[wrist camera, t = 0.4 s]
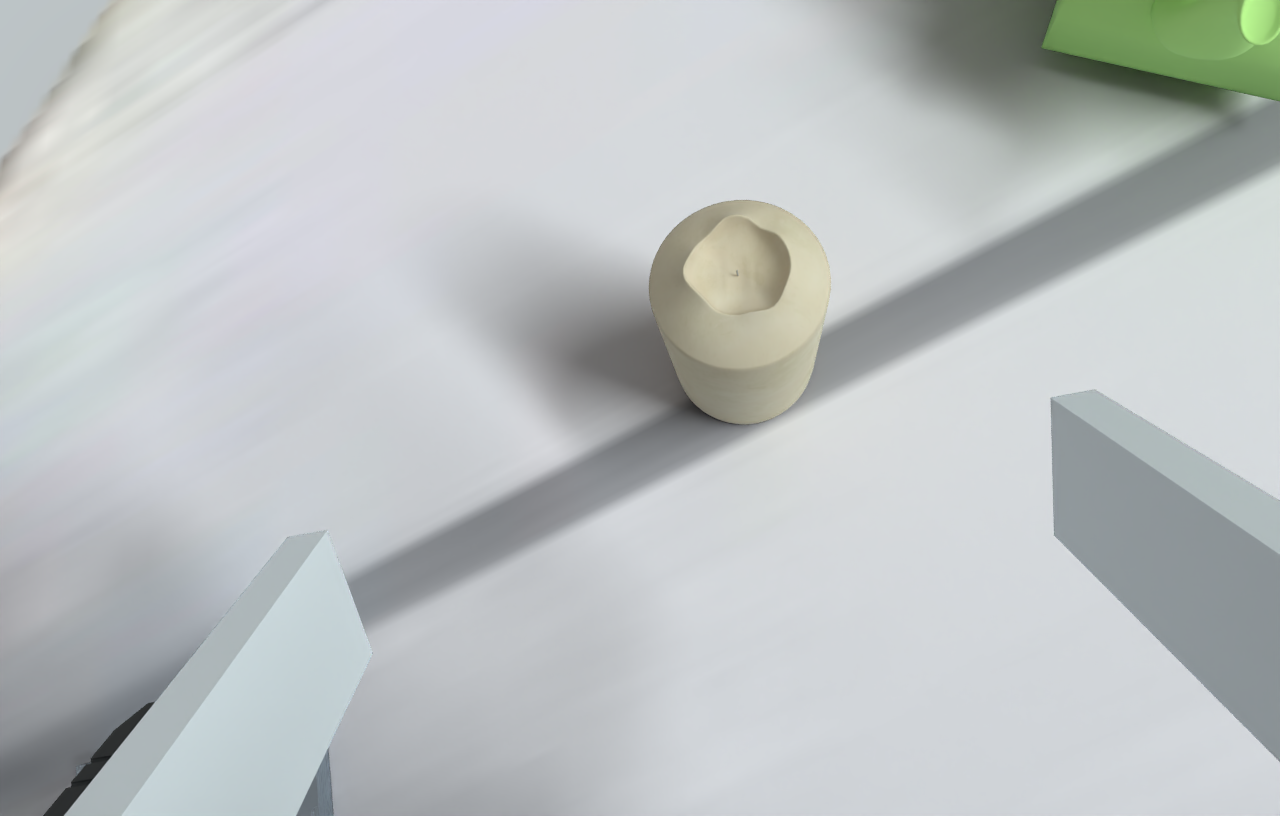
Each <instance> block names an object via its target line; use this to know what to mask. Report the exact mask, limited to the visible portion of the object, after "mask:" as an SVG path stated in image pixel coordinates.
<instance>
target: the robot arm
mask: <svg viewBox="0 0 1280 816" xmlns="http://www.w3.org/2000/svg"><path fill="white" fill-rule="evenodd" d="M1051 433H1052V474H1053V514H1054V536H1055V537H1056V538H1057V539H1058V540H1059V541H1060V542H1061V543H1062V544H1063V545H1064V546H1065V547H1066V548H1067V549H1068V550H1069V551H1070V552H1071V553H1072V554H1073V555H1074V556H1075V557H1076V558H1077V559H1078V560H1079V561H1080V562H1081V563H1082V564H1083V565H1084V566H1085V567H1086V568H1087V569H1088V570H1089V571H1090V572H1091V573H1092V574H1093V575H1094V576H1095V577H1096V578H1097V579H1098V580H1099V581H1100V582H1101V583H1102V584H1103V585H1104V586H1105V587H1106V588H1107V589H1108V590H1109V591H1110V592H1111V593H1112V594H1113V595H1114V596H1115V597H1116V598H1117V599H1118V600H1119V601H1120V602H1121V603H1122V604H1123V605H1124V606H1125V607H1126V608H1127V609H1128V610H1129V611H1130V612H1131V613H1132V614H1133V615H1134V616H1135V617H1136V618H1137V619H1138V620H1139V621H1140V622H1141V623H1142V624H1143V625H1144V626H1145V627H1146V628H1147V629H1148V630H1149V631H1150V632H1151V633H1152V634H1153V635H1154V636H1155V637H1156V638H1157V639H1158V640H1159V641H1160V642H1161V643H1162V644H1163V645H1164V646H1165V647H1166V648H1167V649H1168V650H1169V651H1170V652H1171V653H1172V654H1173V655H1174V656H1175V657H1176V658H1177V659H1178V660H1179V661H1180V662H1181V663H1182V664H1183V665H1184V666H1185V667H1186V668H1187V669H1188V670H1189V671H1190V672H1191V673H1192V674H1193V675H1194V676H1195V677H1196V678H1197V679H1198V680H1199V681H1200V682H1201V683H1202V684H1203V685H1204V686H1205V687H1206V688H1207V689H1208V690H1209V691H1210V692H1211V693H1212V694H1213V695H1214V696H1215V697H1216V698H1217V699H1218V700H1219V701H1220V702H1221V703H1222V704H1223V705H1224V706H1225V707H1226V708H1227V709H1228V710H1229V711H1230V712H1231V713H1232V714H1233V715H1234V716H1235V717H1236V718H1237V719H1238V720H1239V721H1240V722H1241V723H1242V724H1243V725H1244V726H1245V727H1246V728H1247V729H1248V730H1249V731H1250V732H1251V733H1252V734H1253V735H1254V736H1255V737H1256V738H1257V739H1258V740H1259V741H1260V742H1261V743H1262V744H1263V745H1264V746H1265V747H1266V748H1267V749H1268V750H1269V751H1270V752H1271V753H1272V754H1273V755H1274V756H1275V757H1276V758H1277V759H1278V760H1279V761H1280V500H1278V499H1276V498H1275V497H1273V496H1271V495H1270V494H1268V493H1266V492H1265V491H1263V490H1261V489H1260V488H1258V487H1256V486H1255V485H1253V484H1251V483H1250V482H1248V481H1246V480H1245V479H1243V478H1241V477H1240V476H1238V475H1236V474H1235V473H1233V472H1231V471H1230V470H1228V469H1226V468H1225V467H1223V466H1221V465H1220V464H1218V463H1216V462H1215V461H1213V460H1211V459H1210V458H1208V457H1206V456H1205V455H1203V454H1201V453H1200V452H1198V451H1196V450H1195V449H1193V448H1191V447H1190V446H1188V445H1186V444H1185V443H1183V442H1181V441H1180V440H1178V439H1176V438H1175V437H1173V436H1171V435H1170V434H1168V433H1167V432H1165V431H1163V430H1162V429H1160V428H1158V427H1157V426H1155V425H1153V424H1152V423H1150V422H1148V421H1147V420H1145V419H1143V418H1142V417H1140V416H1138V415H1137V414H1135V413H1133V412H1132V411H1130V410H1128V409H1127V408H1125V407H1123V406H1122V405H1120V404H1118V403H1117V402H1115V401H1113V400H1112V399H1110V398H1108V397H1107V396H1105V395H1103V394H1102V393H1100V392H1098V391H1097V390H1090V391H1084V392H1079V393H1073V394H1068V395H1063V396H1057V397H1052V398H1051ZM372 654H373V652H372V650H371V647H370V644H369V641H368V639H367V636H366V633H365V631H364V628H363V625H362V622H361V620H360V617H359V614H358V612H357V609H356V606H355V603H354V601H353V598H352V595H351V592H350V590H349V587H348V584H347V582H346V579H345V576H344V573H343V571H342V568H341V565H340V563H339V560H338V557H337V554H336V552H335V549H334V546H333V543H332V541H331V538H330V535H329V533H328V530H325V531H319V532H314V533H308V534H303V535H297V536H292V537H287V539H286V540H285V541H284V542H283V543H282V545H281V546H280V547H279V548H278V550H277V551H276V552H275V553H274V555H273V556H272V557H271V558H270V560H269V561H268V562H267V563H266V565H265V566H264V567H263V568H262V570H261V571H260V572H259V573H258V575H257V576H256V577H255V578H254V580H253V581H252V582H251V583H250V585H249V586H248V587H247V588H246V590H245V591H244V592H243V593H242V595H241V596H240V597H239V598H238V600H237V601H236V602H235V603H234V605H233V606H232V607H231V608H230V610H229V611H228V612H227V613H226V615H225V616H224V617H223V618H222V619H221V621H220V622H219V623H218V624H217V626H216V627H215V628H214V629H213V631H212V632H211V633H210V634H209V636H208V637H207V638H206V639H205V641H204V642H203V643H202V644H201V646H200V647H199V648H198V649H197V651H196V652H195V653H194V654H193V656H192V657H191V658H190V659H189V661H188V662H187V663H186V664H185V666H184V667H183V668H182V669H181V671H180V672H179V673H178V674H177V676H176V677H175V678H174V679H173V681H172V682H171V683H170V684H169V686H168V687H167V688H166V689H165V690H164V692H163V693H162V694H161V695H160V697H159V698H158V699H157V700H156V702H153V703H148V704H147V705H145V706H144V707H143V708H142V709H140V710H139V711H138V712H137V713H135V714H134V715H133V716H132V717H130V718H129V719H128V720H127V721H125V722H124V723H123V724H122V725H120V726H119V727H118V728H117V729H115V730H114V731H113V733H112V734H111V735H110V736H109V737H108V739H107V740H106V741H105V742H104V743H103V745H102V746H101V747H100V748H99V749H98V751H97V752H96V753H95V754H94V755H93V757H92V758H91V764H86V765H85V766H84V767H83V769H82V770H81V771H80V772H79V773H78V775H77V776H76V777H75V778H74V779H73V781H72V782H71V783H72V785H71V788H66V789H65V790H64V791H63V793H62V794H61V795H60V796H59V797H58V799H57V800H56V801H55V802H54V803H53V805H52V806H51V807H50V808H49V809H48V811H47V812H46V813H45V814H44V815H43V816H296V815H297V813H298V811H299V808H300V806H301V804H302V802H303V800H304V798H305V796H306V794H307V792H308V789H309V787H310V785H311V783H312V781H313V779H314V777H315V775H316V773H317V770H318V768H319V766H320V764H321V762H322V760H323V758H324V756H325V754H326V751H327V749H328V747H329V745H330V743H331V741H332V739H333V737H334V735H335V732H336V730H337V728H338V726H339V724H340V722H341V720H342V718H343V716H344V713H345V711H346V709H347V707H348V705H349V703H350V701H351V699H352V697H353V694H354V692H355V690H356V688H357V686H358V684H359V682H360V680H361V678H362V675H363V673H364V671H365V669H366V667H367V665H368V663H369V661H370V659H371V657H372Z"/></svg>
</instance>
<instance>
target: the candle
mask: <svg viewBox="0 0 1280 816" xmlns="http://www.w3.org/2000/svg"><path fill="white" fill-rule="evenodd" d="M830 290H831V276H830V269H829V264H828V261H827V257H826V254H825V252H824V250H823V248H822V246H821V244H820V242H819V241H818V239H817V237H816V236H815V235H814V233H813V232H812V231H811V230H810V229H809V228H808V227H807V226H806V225H805V224H804V223H803V222H802V221H801V220H800V219H798V218H797V217H795V216H794V215H793V214H791V213H789V212H787V211H786V210H784V209H782V208H779V207H777V206H774V205H771V204H768V203H764V202H759V201H751V200H734V201H726V202H721V203H717V204H713V205H711V206H708V207H705V208H703V209H701V210H699V211H697V212H695V213H693V214H691V215H690V216H689V217H687V218H686V219H684V220H683V221H682V222H681V223H679V224H678V225H677V226H676V227H675V228H674V229H673V230H672V231H671V232H670V233H669V235H668V236H667V237H666V238H665V240H664V241H663V243H662V244H661V246H660V248H659V250H658V252H657V254H656V256H655V259H654V261H653V264H652V268H651V273H650V279H649V296H650V303H651V307H652V311H653V314H654V317H655V319H656V322H657V325H658V327H659V330H660V333H661V335H662V338H663V340H664V343H665V345H666V348H667V351H668V353H669V356H670V358H671V361H672V364H673V366H674V369H675V371H676V374H677V376H678V379H679V381H680V383H681V385H682V387H683V389H684V391H685V393H686V394H687V396H688V397H689V398H690V400H691V401H692V402H693V403H694V404H695V405H696V406H697V407H698V408H700V409H701V410H702V411H703V412H705V413H707V414H708V415H710V416H712V417H714V418H716V419H719V420H721V421H725V422H728V423H734V424H755V423H759V422H764V421H767V420H769V419H772V418H774V417H776V416H778V415H780V414H781V413H783V412H784V411H786V410H787V409H788V408H790V407H791V406H792V405H793V404H794V403H795V402H796V401H797V400H798V398H799V397H800V396H801V395H802V393H803V392H804V390H805V388H806V386H807V384H808V382H809V380H810V377H811V373H812V370H813V367H814V363H815V358H816V354H817V350H818V346H819V341H820V337H821V333H822V328H823V324H824V320H825V316H826V311H827V307H828V302H829V297H830Z"/></svg>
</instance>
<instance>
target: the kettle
mask: <svg viewBox="0 0 1280 816" xmlns="http://www.w3.org/2000/svg"><path fill="white" fill-rule="evenodd" d="M1042 48H1043V49H1047V50H1052V51H1056V52H1061V53H1065V54H1070V55H1074V56H1079V57H1083V58H1088V59H1092V60H1097V61H1101V62H1106V63H1110V64H1115V65H1119V66H1124V67H1128V68H1133V69H1137V70H1142V71H1146V72H1150V73H1155V74H1159V75H1164V76H1168V77H1173V78H1177V79H1182V80H1187V81H1191V82H1196V83H1200V84H1204V85H1209V86H1213V87H1218V88H1222V89H1227V90H1231V91H1236V92H1240V93H1244V94H1249V95H1253V96H1258V97H1262V98H1267V99H1271V100H1276V101H1280V0H1057V1H1056V4H1055V7H1054V10H1053V13H1052V16H1051V20H1050V23H1049V26H1048V29H1047V32H1046V35H1045V38H1044V41H1043V44H1042Z"/></svg>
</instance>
